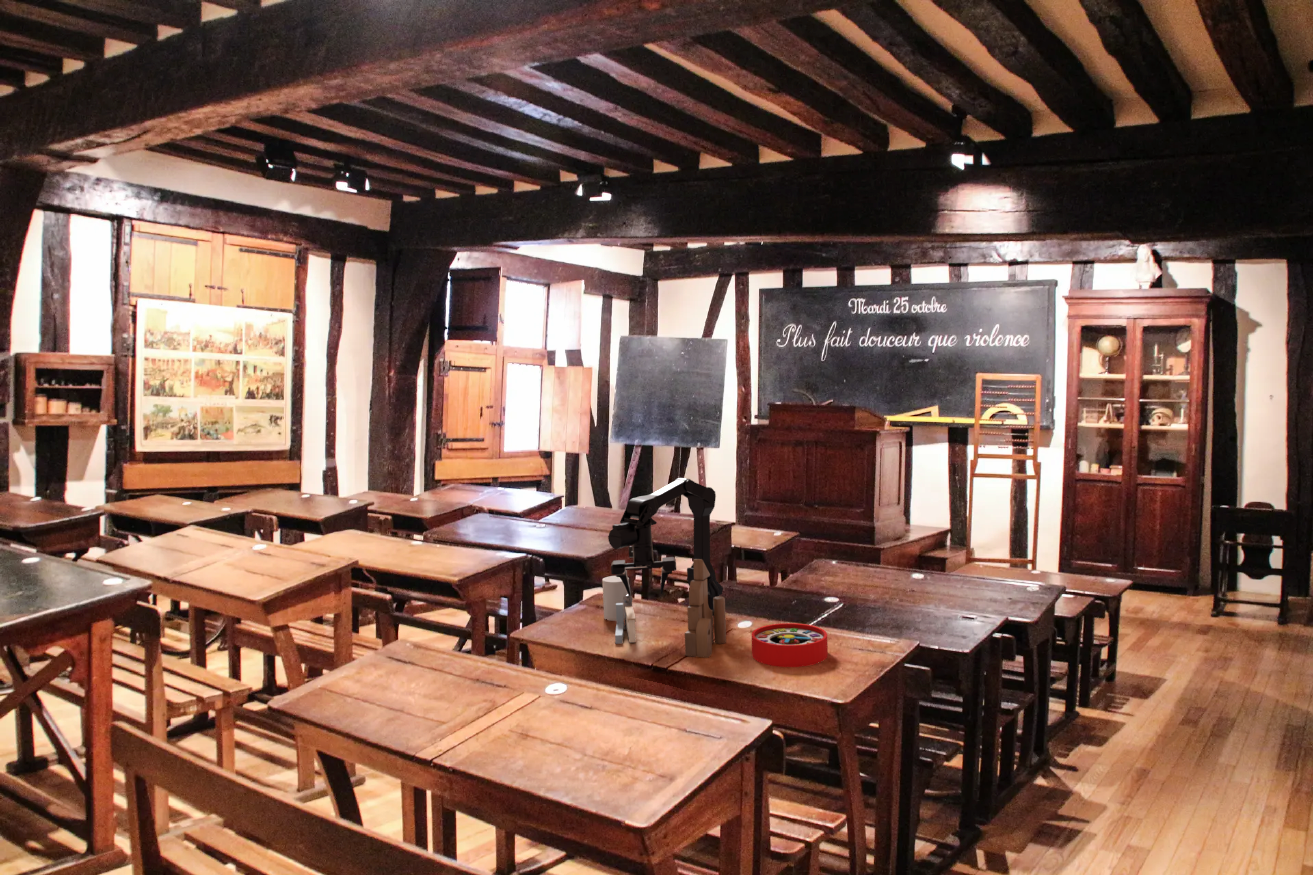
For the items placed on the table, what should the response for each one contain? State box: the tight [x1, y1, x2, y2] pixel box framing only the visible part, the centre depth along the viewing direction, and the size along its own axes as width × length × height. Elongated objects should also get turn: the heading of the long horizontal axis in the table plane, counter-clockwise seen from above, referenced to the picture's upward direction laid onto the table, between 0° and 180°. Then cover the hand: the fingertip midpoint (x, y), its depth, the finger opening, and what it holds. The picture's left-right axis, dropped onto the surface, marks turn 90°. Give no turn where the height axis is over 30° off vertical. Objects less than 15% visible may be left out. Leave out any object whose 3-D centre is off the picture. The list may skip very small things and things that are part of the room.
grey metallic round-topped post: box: [623, 595, 633, 631], centre depth 290 cm, size 4×4×10 cm
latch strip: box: [614, 603, 625, 645], centre depth 281 cm, size 2×14×8 cm, turn 0°
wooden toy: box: [684, 558, 727, 658], centre depth 267 cm, size 16×7×25 cm, turn 157°
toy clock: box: [751, 622, 829, 668], centre depth 260 cm, size 20×6×20 cm
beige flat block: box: [625, 605, 637, 643], centre depth 281 cm, size 13×2×7 cm, turn 6°
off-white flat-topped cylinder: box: [601, 575, 630, 622], centre depth 301 cm, size 8×8×12 cm
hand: (645, 594), depth 284 cm, fingers open, 9 cm apart
